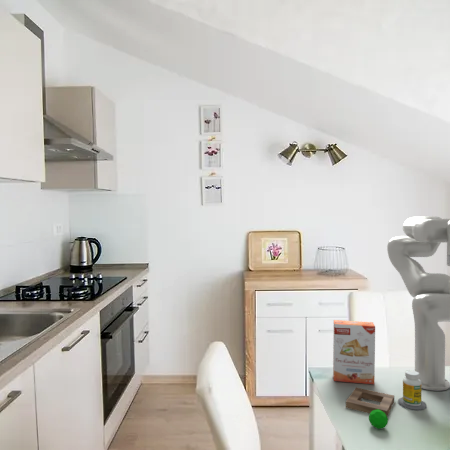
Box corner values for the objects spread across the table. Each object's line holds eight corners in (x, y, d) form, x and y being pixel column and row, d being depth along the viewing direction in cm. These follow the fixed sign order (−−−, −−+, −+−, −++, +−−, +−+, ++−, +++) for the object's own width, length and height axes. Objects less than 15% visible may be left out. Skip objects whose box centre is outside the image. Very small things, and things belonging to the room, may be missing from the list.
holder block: (355, 393, 138) (355, 387, 138) (394, 401, 132) (394, 395, 131) (345, 407, 128) (345, 401, 128) (386, 417, 121) (387, 410, 121)
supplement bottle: (409, 397, 133) (409, 367, 133) (425, 403, 129) (425, 373, 129) (399, 401, 130) (399, 371, 130) (415, 408, 126) (415, 377, 126)
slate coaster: (400, 396, 135) (400, 395, 135) (427, 402, 131) (427, 400, 131) (396, 406, 128) (396, 404, 128) (424, 412, 124) (424, 411, 124)
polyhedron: (388, 425, 117) (388, 408, 117) (387, 433, 113) (387, 416, 112) (369, 421, 119) (369, 405, 119) (367, 429, 115) (367, 412, 115)
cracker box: (333, 382, 147) (333, 323, 147) (333, 375, 153) (333, 319, 152) (375, 385, 144) (375, 325, 143) (373, 378, 150) (373, 321, 149)
